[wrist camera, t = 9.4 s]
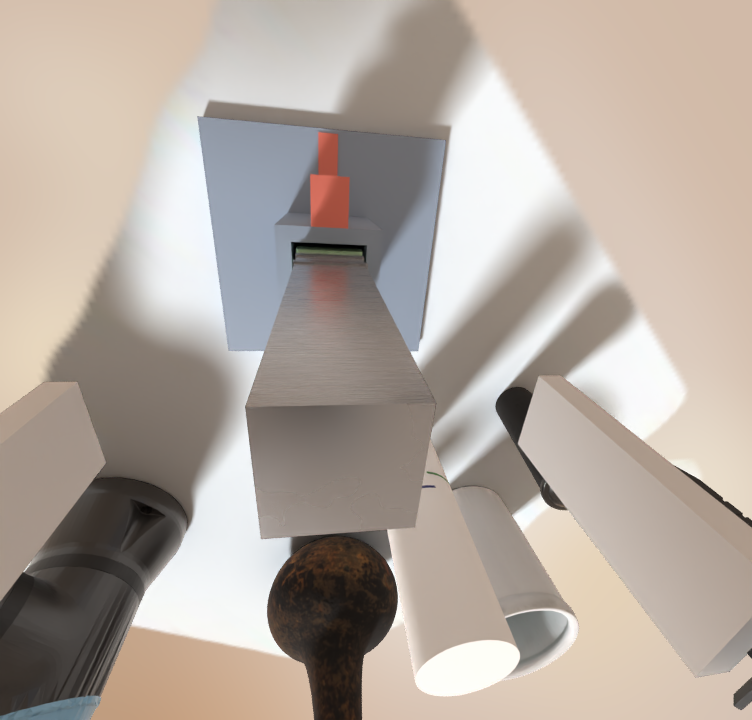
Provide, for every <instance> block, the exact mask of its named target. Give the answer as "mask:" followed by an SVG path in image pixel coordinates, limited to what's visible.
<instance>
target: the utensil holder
mask: <svg viewBox="0 0 752 720" xmlns="http://www.w3.org/2000/svg"><path fill="white" fill-rule="evenodd" d="M452 492H453V494H454V497H455V499H456V501H457V504H458V506H459V508H460V511H461V513H462V516H463V518H464V520H465V523H466V525H467V528H468V530H469V532H470V535H471V537H472V540H473V542H474V544H475V547H476V549H477V552H478V554H479V556H480V559H481V561H482V564H483V566H484V568H485V571H486V573H487V576H488V578H489V580H490V583H491V585H492V588H493V590H494V592H495V595H496V597H497V600H498V602H499V604H500V607H501V609H502V612H503V614H504V616H505V619H506V621H507V624H508V626H509V628H510V631H511V633H512V636H513V638H514V640H515V643H516V645H517V648H518V650H519V652H520V659H519V663H518V664H517V666H516V667H515V669H514V670H513V671H512V672H511V673H510V674H508V675H507V676H506V677H505V678H503V679H502V680H508V679H513V678H517V677H520V676H524V675H526V674H529V673H532V672H534V671H536V670H539V669H541V668H543V667H545V666H546V665H548V664H550V663H552V662H553V661H555V660H556V659H557V658H559V657H560V656H561V655H563V654H564V653H565V652H566V651H567V650H568V649H569V648H570V647H571V645H572V644H573V643H574V641H575V639H576V637H577V635H578V631H579V624H578V620H577V618H576V616H575V614H574V612H573V610H572V609H571V607H570V606H569V605H568V604H567V603H566V602H565V601H564V600H563V598H562V597H561V595H560V594H559V592H558V590H557V588H556V587H555V585H554V583H553V582H552V580H551V578H550V577H549V575H548V574H547V572H546V570H545V569H544V567H543V565H542V564H541V562H540V560H539V559H538V557H537V556H536V554H535V552H534V551H533V549H532V548H531V546H530V544H529V542H528V541H527V539H526V538H525V536H524V534H523V532H522V531H521V529H520V528H519V526H518V524H517V523H516V521H515V520H514V518H513V516H512V515H511V513H510V512H509V510H508V508H507V507H506V505H505V504H504V502H503V501H502V499H501V498H500V497H499V496H498V494H496V493H495V492H494V491H492V490H490V489H487V488H484V487H479V486H467V487H461V488H458V489H454V490H452ZM502 680H500V681H502Z"/></svg>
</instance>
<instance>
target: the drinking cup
mask: <svg viewBox="0 0 752 720" xmlns="http://www.w3.org/2000/svg"><path fill="white" fill-rule="evenodd" d="M532 396H533V394H531V393H530V392H529V391H528V390H526V389H525V388H521V387H515V388H511V389H509V390H507V391H505V392H504V393H503V394H501V396H500V397H499V398H498V400H497V402H496V411H497V413H498V415H499V417H500V419H501V420H502V422H503V424H504V426H505V427H506V429H507V431H508V433H509V434H510V436H511V438H512V440H513V441H514V443H515V445H516V447H517V448H518V450H519V452H520V454H521V455H522V457H523V459H524V461H525V463H526V464H527V466H528V468H529V470H530V471H531V473H532V475H533V477H534V478H535V480H536V482H537V484H538V485H539V487H540V492H541V495H542V498H543V499H544V501H545V502H546V503H547V504H548V505H549V506H551V507H553V508H555V509H558V510H568V509H567V508H566V507H565V505H564V504H563V503H562V502H561V500H560V499H559V498H558V496H557V495H556V494H555V492H554V491H553V490H552V488H551V487H550V486H549V484H548V483H547V482H546V480H545V479H544V478H543V477H542V475H541V474H540V473H539V471H538V470H537V469H536V467H535V466H534V465H533V463H532V462H531V461H530V459H529V458H528V457H527V456H526V454H525V453H524V452H523V450H522V449H521V448H520V446H519V445H518V441H519V438H520V435H521V432H522V428H523V425H524V422H525V419H526V415H527V412H528V409H529V405H530V402H531V399H532Z"/></svg>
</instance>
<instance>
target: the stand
mask: <svg viewBox="0 0 752 720" xmlns="http://www.w3.org/2000/svg"><path fill="white" fill-rule="evenodd" d="M197 117H198V124H199V132H200V139H201V147H202V154H203V162H204V169H205V177H206V184H207V192H208V199H209V207H210V214H211V222H212V229H213V237H214V244H215V252H216V259H217V267H218V274H219V282H220V289H221V297H222V304H223V312H224V319H225V327H226V334H227V342H228V349H229V351H265V348H266V345H267V342H268V339H269V336H270V333H271V330H272V327H273V325H274V322H275V319H276V316H277V313H278V310H279V307H280V304H281V301H282V298H283V295H284V292H285V290H286V287H287V284H288V281H289V278H290V275H291V272H292V269H293V260H295V254H296V248H297V246H301V243H302V242H306V243H327V244H348V245H356V247H357V249H361V250H362V256H364V262H367V263H368V271H369V273H370V275H371V277H372V278H373V280H374V282H375V284H376V286H377V288H378V290H379V292H380V294H381V296H382V298H383V300H384V302H385V304H386V306H387V308H388V310H389V312H390V314H391V316H392V318H393V320H394V322H395V323H396V325H397V327H398V329H399V331H400V333H401V335H402V337H403V339H404V341H405V343H406V345H407V347H408V349H409V351H418V349H419V341H420V333H421V326H422V318H423V311H424V303H425V295H426V288H427V280H428V273H429V265H430V257H431V250H432V242H433V235H434V227H435V219H436V212H437V204H438V197H439V189H440V181H441V174H442V166H443V159H444V151H445V144H446V140H439V139H429V138H418V137H408V136H397V135H387V134H376V133H366V132H356V131H345V130H335V129H324V128H314V127H303V126H293V125H282V124H272V123H262V122H251V121H241V120H230V119H220V118H209V117H199V116H197Z"/></svg>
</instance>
